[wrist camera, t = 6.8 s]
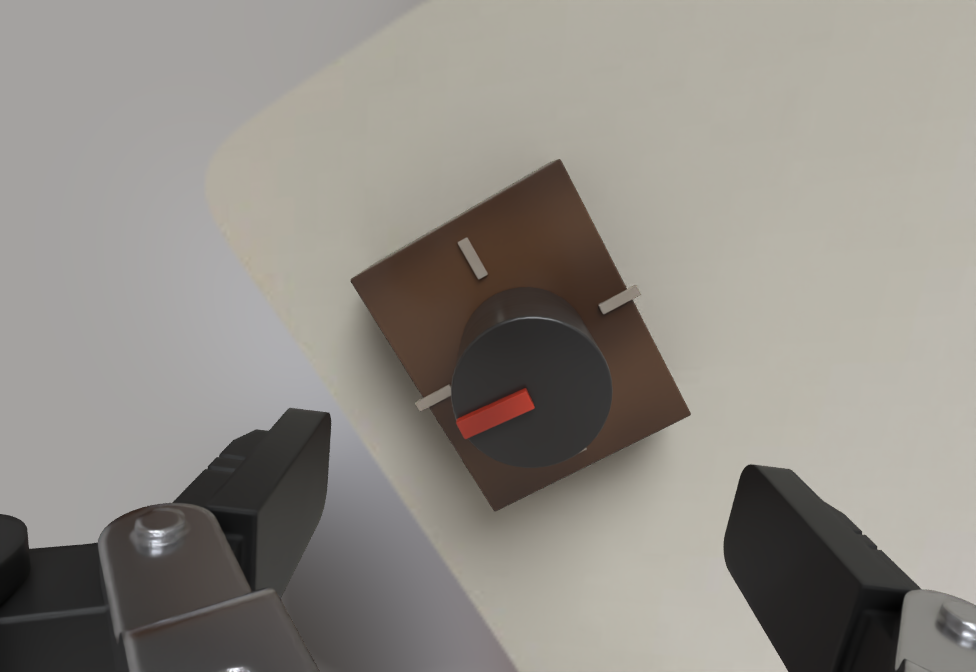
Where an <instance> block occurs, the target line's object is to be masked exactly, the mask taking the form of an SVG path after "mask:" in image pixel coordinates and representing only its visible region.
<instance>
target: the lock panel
mask: <svg viewBox="0 0 976 672" xmlns="http://www.w3.org/2000/svg"><path fill="white" fill-rule="evenodd" d="M351 283H352V284H353V286H354V288H355V289H356V291H357V292H358V294H359V296H360V297H361V299H362V300H363V302H364V304H365V305H366V307H367V308H368V310H369V312H370V313H371V315H372V316H373V318H374V320H375V321H376V323H377V324H378V326H379V328H380V329H381V331H382V332H383V334H384V336H385V337H386V339H387V340H388V342H389V344H390V345H391V347H392V348H393V350H394V352H395V353H396V355H397V356H398V358H399V360H400V361H401V363H402V365H403V366H404V368H405V369H406V371H407V373H408V374H409V376H410V377H411V379H412V381H413V382H414V384H415V385H416V387H417V389H418V390H419V392H420V393H421V395H422V397H423V398H422V399H420V400H419V401H417V402H416V403H415V404H416V406H417V407H418V409H419V411H420V412H421V411H423V410H424V409H426V408H428V407H429V408H430V409H431V411H432V413H433V414H434V416H435V417H436V419H437V421H438V422H439V424H440V425H441V427H442V429H443V430H444V432H445V433H446V435H447V437H448V438H449V440H450V441H451V443H452V445H453V446H454V448H455V449H456V451H457V453H458V454H459V456H460V457H461V459H462V461H463V462H464V464H465V465H466V467H467V469H468V470H469V472H470V473H471V475H472V477H473V478H474V480H475V481H476V483H477V485H478V486H479V488H480V489H481V491H482V493H483V494H484V496H485V498H486V499H487V501H488V502H489V504H490V506H491V507H492V509H493V510H494V511H497V510H499V509H501V508H503V507H505V506H507V505H510V504H512V503H514V502H516V501H518V500H520V499H522V498H524V497H526V496H528V495H530V494H532V493H534V492H536V491H538V490H540V489H542V488H544V487H546V486H548V485H550V484H552V483H554V482H556V481H558V480H560V479H562V478H564V477H566V476H568V475H570V474H572V473H574V472H576V471H578V470H580V469H582V468H585V467H587V466H589V465H591V464H593V463H595V462H597V461H599V460H601V459H603V458H605V457H607V456H609V455H611V454H613V453H615V452H617V451H619V450H621V449H623V448H625V447H627V446H629V445H631V444H633V443H635V442H637V441H639V440H641V439H643V438H645V437H647V436H649V435H651V434H653V433H655V432H658V431H660V430H662V429H664V428H666V427H668V426H670V425H672V424H674V423H676V422H678V421H680V420H682V419H684V418H686V417H688V416H690V415H691V413H690V411H689V409H688V407H687V405H686V403H685V401H684V399H683V397H682V395H681V393H680V391H679V389H678V387H677V385H676V383H675V381H674V380H673V378H672V376H671V374H670V372H669V370H668V368H667V366H666V364H665V362H664V360H663V358H662V356H661V354H660V352H659V350H658V348H657V346H656V344H655V342H654V341H653V339H652V337H651V335H650V333H649V331H648V329H647V327H646V325H645V323H644V321H643V319H642V317H641V315H640V313H639V311H638V309H637V307H636V305H635V303H634V302H633V300H632V299H634V298H636V297H638V296H639V295H641V294H640V292H639V290H638V288H637V286H636V285H634V286H632V287H630V288H628V289H627V288H626V286H625V284H624V282H623V280H622V278H621V276H620V274H619V272H618V270H617V268H616V266H615V264H614V263H613V261H612V259H611V257H610V255H609V253H608V251H607V249H606V247H605V245H604V243H603V241H602V239H601V237H600V235H599V233H598V231H597V229H596V227H595V225H594V223H593V222H592V220H591V218H590V216H589V214H588V212H587V210H586V208H585V206H584V204H583V202H582V200H581V198H580V196H579V194H578V192H577V190H576V188H575V186H574V184H573V183H572V181H571V179H570V177H569V175H568V173H567V171H566V169H565V167H564V165H563V163H562V161H561V160H560V159H558V160H555V161H552V162H550V163H548V164H546V165H545V166H543V167H541V168H539V169H538V170H536V171H534V172H532V173H531V174H529V175H527V176H525V177H524V178H522V179H520V180H519V181H517V182H515V183H513V184H512V185H510V186H508V187H506V188H505V189H503V190H501V191H499V192H498V193H496V194H494V195H493V196H491V197H489V198H487V199H486V200H484V201H482V202H480V203H479V204H477V205H475V206H474V207H472V208H470V209H468V210H467V211H465V212H463V213H461V214H460V215H458V216H456V217H454V218H453V219H451V220H449V221H448V222H446V223H444V224H442V225H441V226H439V227H437V228H435V229H434V230H432V231H430V232H429V233H427V234H425V235H423V236H422V237H420V238H418V239H416V240H415V241H413V242H411V243H409V244H408V245H406V246H404V247H403V248H401V249H399V250H397V251H396V252H394V253H392V254H390V255H389V256H387V257H385V258H384V259H382V260H380V261H378V262H377V263H375V264H373V265H371V266H370V267H368V268H367V269H365V270H364V271H362V272H361V273H359V274H358V275H356V276H355V277H353V278H352V279H351ZM519 287H533V288H540V289H543V290H547V291H550V292H552V293H554V294H556V295H558V296H560V297H561V298H563V299H564V300H566V301H567V302H568V303H569V304H570V305H571V306H572V307H573V308H574V309H575V310H576V311H577V313H578V314H579V315H580V317H581V319H582V320H583V322H584V324H585V325H586V327H587V329H588V330H589V332H590V334H591V335H592V337H593V339H594V341H595V342H596V344H597V346H598V347H599V349H600V351H601V352H602V354H603V356H604V358H605V360H606V362H607V365H608V367H609V370H610V374H611V378H612V388H613V392H612V403H611V408H610V411H609V414H608V417H607V420H606V422H605V424H604V426H603V428H602V429H601V431H600V432H599V434H598V435H597V437H596V438H595V439H594V440H593V441H592V442H591V443H590V444H589V445H588V446H587V447H586V448H585V449H584V450H582V451H581V452H580V453H578V454H577V455H575V456H574V457H572V458H570V459H568V460H566V461H563V462H561V463H558V464H555V465H551V466H547V467H539V468H523V467H515V466H511V465H507V464H504V463H501V462H499V461H496V460H494V459H492V458H491V457H489V456H487V455H485V454H484V453H483V452H481V451H480V450H478V449H477V448H476V447H475V446H474V445H473V444H472V443H471V442H470V441H469V440H468V439H464V437H463V435H462V434H461V432H460V430H459V428H458V426H457V424H456V418H455V414H454V411H453V407H452V400H451V385H452V378H453V374H454V369H455V365H456V361H457V357H458V352H459V348H460V344H461V339H462V336H463V332H464V329H465V326H466V324H467V322H468V320H469V318H470V317H471V315H472V314H473V313H474V311H475V310H476V309H477V308H478V307H479V306H480V305H481V304H482V303H483V302H484V301H486V300H487V299H488V298H490V297H492V296H493V295H495V294H497V293H499V292H502V291H504V290H508V289H512V288H519Z"/></svg>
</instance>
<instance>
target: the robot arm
mask: <svg viewBox="0 0 976 672" xmlns="http://www.w3.org/2000/svg"><path fill="white" fill-rule="evenodd" d="M330 435H331V417H330V414H329V413H327V412H320V411H312V410H303V409H295V408H289V409H288V410H287V411H286V412H285V413H284V414H283V415H282V417H281V418H280V419H279V420H278V421H277V422H276V423H275V425H274V426H273V427H272V428H271V429H270V430H269V431H264V430H254V431H252V432H250V433H248V434H246V435H243V436H242V437H240V438H237V439H235V440H233V441H232V442H231V443H230V444H229V445H228V446H227V447H226V448H225V449H224V450H223V451H222V453H221V454H220V455H219V457H217V458H216V459H215V460H214V461H213V462H212V463H211V464H210V465H209V466H208V469H205V470H204V471H203V472H202V473H201V474H200V475H199V476H198V477H197V478H196V479H195V480H194V481H193V482H192V483H191V484H190V485H189V486H188V487H187V488H186V489H185V490H184V491H183V492H182V493H181V495H180V496H179V497H178V498H177V499H176V500H175V501H174V502H173V503H165V504H157V505H151V506H147V507H143V508H140V509H137V510H133V511H131V512H129V513H126V514H124V515H122V516H120V517H119V518H117V519H115V520H114V521H112V522H111V523H110V524H109V525H108V526H107V527H106V528H104V530H103V531H102V533H101V534H100V537H99V539H98V543H92V544H83V545H72V546H60V547H48V548H36V549H29V545H28V534H27V527H26V525H25V524H24V523H23V522H22V521H21V520H19V519H17V518H15V517H12V516H9V515H3V514H0V672H320V671H319V669H318V667H317V665H316V663H315V662H314V660H313V658H312V656H311V655H310V652H309V651H308V649H307V647H306V645H305V643H304V641H303V640H302V638H301V636H300V634H299V632H298V630H297V628H296V627H295V625H294V623H293V621H292V619H291V617H290V616H289V614H288V612H287V610H286V608H285V606H284V604H283V603H282V601H281V597H282V595H283V593H284V591H285V589H286V587H287V585H288V583H289V581H290V579H291V577H292V575H293V573H294V571H295V569H296V567H297V565H298V563H299V561H300V559H301V557H302V555H303V553H304V551H305V549H306V547H307V545H308V543H309V541H310V539H311V537H312V535H313V533H314V531H315V529H316V527H317V525H318V523H319V521H320V518H321V516H322V512H323V509H324V505H325V499H326V493H327V483H328V467H329V452H330ZM724 557H725V562H726V566H727V568H728V570H729V572H730V574H731V575H732V577H733V579H734V580H735V582H736V584H737V586H738V587H739V589H740V591H741V592H742V594H743V596H744V597H745V599H746V601H747V602H748V604H749V606H750V607H751V609H752V611H753V613H754V614H755V616H756V618H757V619H758V621H759V623H760V624H761V626H762V628H763V629H764V631H765V633H766V634H767V636H768V638H769V639H770V641H771V643H772V645H773V646H774V648H775V650H776V651H777V653H778V655H779V656H780V658H781V660H782V661H783V663H784V665H785V666H786V668H787V670H788V672H976V605H974V604H972V603H970V602H967V601H965V600H963V599H960V598H958V597H955V596H952V595H949V594H946V593H942V592H938V591H932V590H922V589H921V588H920V587H919V586H918V585H917V584H916V583H915V582H914V581H912V580H911V579H910V578H909V577H908V576H907V575H906V574H905V573H904V572H903V571H902V570H901V569H900V568H899V567H898V566H897V565H896V564H895V563H894V562H893V561H892V560H891V559H890V558H889V557H888V556H887V555H886V554H885V553H884V552H883V551H882V550H877V546H876V545H875V544H874V543H873V542H872V541H871V540H870V539H869V538H868V537H867V536H866V535H862V531H861V530H860V529H859V528H858V527H857V526H856V525H855V524H854V523H853V522H852V521H851V520H850V519H849V518H848V517H847V516H846V515H844V514H843V513H842V512H840V511H838V510H837V509H835V508H834V507H832V506H830V505H829V504H827V503H825V502H824V501H823V500H822V499H820V498H819V497H818V496H817V495H816V494H815V493H814V492H813V491H812V490H811V489H810V488H809V487H808V486H807V485H806V484H805V483H804V482H803V481H802V480H801V479H800V478H799V477H798V476H797V475H796V474H795V473H794V472H793V471H792V470H790V469H785V468H776V467H768V466H760V465H751V464H750V465H748V466H746V467H745V468H744V470H743V471H742V473H741V476H740V479H739V483H738V487H737V491H736V494H735V498H734V502H733V506H732V510H731V513H730V517H729V521H728V525H727V529H726V532H725V537H724Z"/></svg>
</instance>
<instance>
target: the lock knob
mask: <svg viewBox="0 0 976 672" xmlns="http://www.w3.org/2000/svg"><path fill="white" fill-rule="evenodd" d="M612 392H613V388H612V378H611V374H610V370H609V367H608V365H607V362H606V360H605V358H604V356H603V354H602V352H601V351H600V349H599V347H598V346H597V344H596V342H595V341H594V339H593V337H592V335H591V334H590V332H589V330H588V329H587V327H586V325H585V324H584V322H583V320H582V319H581V317H580V315H579V314H578V313H577V311H576V310H575V309H574V308H573V307H572V306H571V305H570V304H569V303H568V302H567V301H566V300H564V299H563V298H561V297H560V296H558V295H556V294H554V293H552V292H550V291H547V290H543V289H540V288H533V287H519V288H512V289H508V290H504V291H502V292H499V293H497V294H495V295H493V296H492V297H490V298H488V299H487V300H486V301H484V302H483V303H482V304H481V305H480V306H479V307H478V308H477V309H476V310H475V311H474V313H473V314H472V315H471V317H470V318H469V320H468V322H467V324H466V326H465V329H464V332H463V336H462V339H461V344H460V348H459V352H458V357H457V361H456V365H455V369H454V374H453V378H452V385H451V400H452V407H453V411H454V414H455V418H456V424H457V426H458V428H459V430H460V432H461V434H462V435H463V437H464V439H468V440H469V441H470V442H471V443H472V444H473V445H474V446H475V447H476V448H477V449H478V450H480V451H481V452H483V453H484V454H485V455H487V456H489V457H491V458H492V459H494V460H496V461H499V462H501V463H504V464H507V465H511V466H515V467H523V468H539V467H547V466H551V465H555V464H558V463H561V462H563V461H566V460H568V459H570V458H572V457H574V456H575V455H577V454H578V453H580V452H581V451H582V450H584V449H585V448H586V447H587V446H588V445H589V444H590V443H591V442H592V441H593V440H594V439H595V438H596V437H597V435H598V434H599V432H600V431H601V429H602V428H603V426H604V424H605V422H606V420H607V417H608V414H609V411H610V408H611V403H612Z"/></svg>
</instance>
